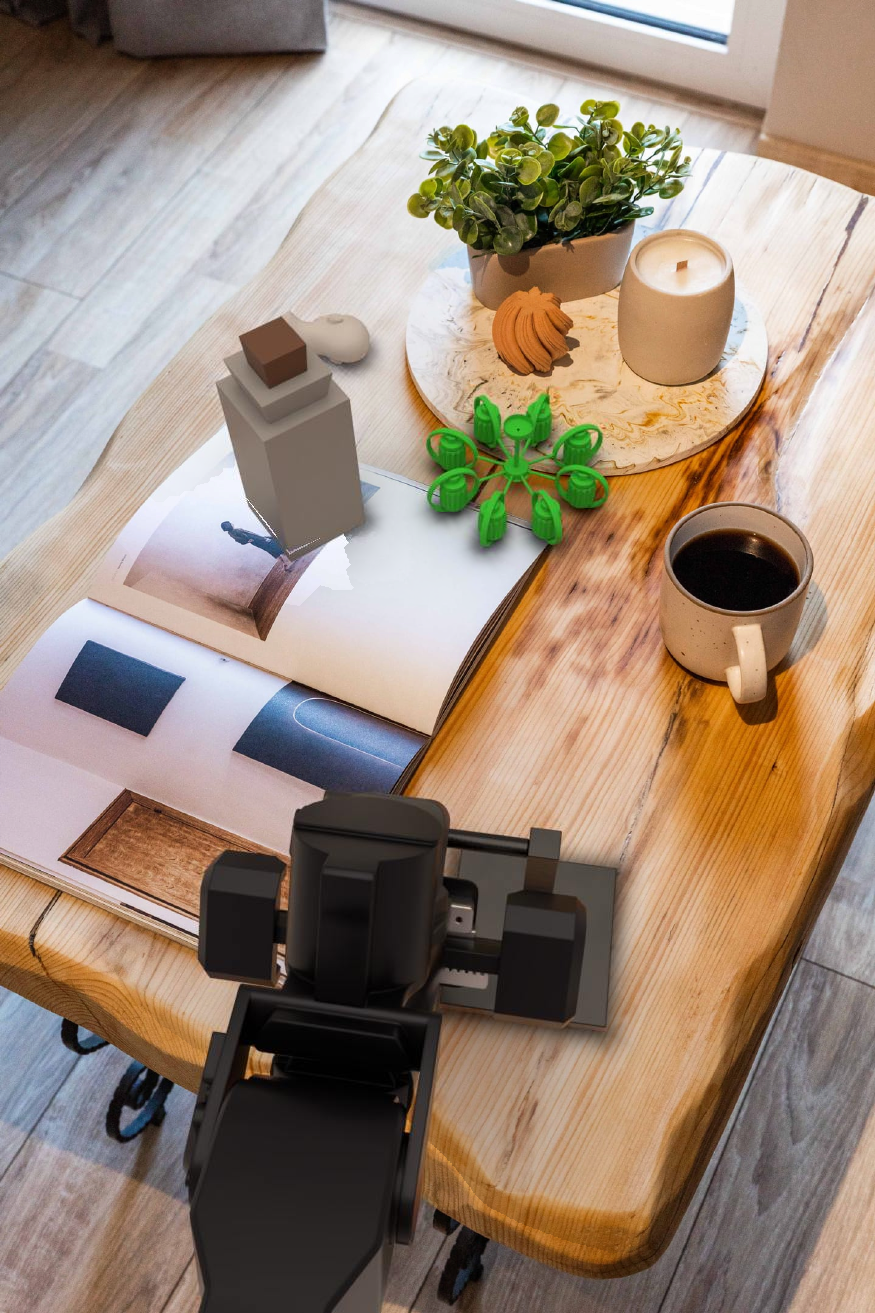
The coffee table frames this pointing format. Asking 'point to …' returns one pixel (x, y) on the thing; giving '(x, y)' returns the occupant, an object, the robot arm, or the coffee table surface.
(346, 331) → the beige rounded piece
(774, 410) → the coffee table surface
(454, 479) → the chandelier
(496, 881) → the hook stand
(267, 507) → the perfume bottle
